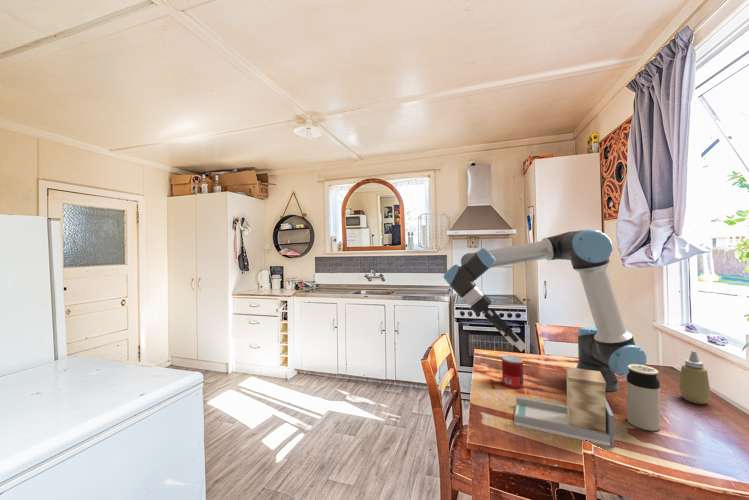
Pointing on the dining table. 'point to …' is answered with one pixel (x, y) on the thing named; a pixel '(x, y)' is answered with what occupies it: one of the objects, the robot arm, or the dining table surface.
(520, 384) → the canned food
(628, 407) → the travel mug
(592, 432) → the bay
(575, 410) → the wooden block
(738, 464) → the dining table surface
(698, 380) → the squeeze bottle
